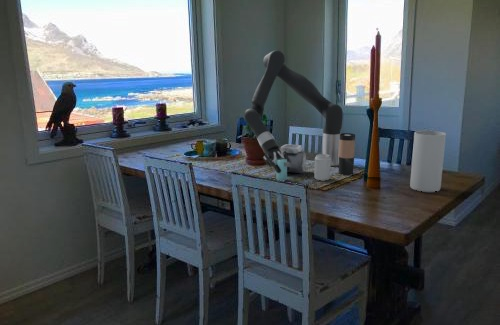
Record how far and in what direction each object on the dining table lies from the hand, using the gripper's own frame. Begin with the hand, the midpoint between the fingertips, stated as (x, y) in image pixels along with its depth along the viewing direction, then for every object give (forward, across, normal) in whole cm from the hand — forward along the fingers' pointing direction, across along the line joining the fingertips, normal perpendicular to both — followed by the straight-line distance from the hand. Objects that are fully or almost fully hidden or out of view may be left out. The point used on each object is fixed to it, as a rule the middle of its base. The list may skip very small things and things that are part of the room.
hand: (284, 171), depth 199 cm
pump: (+3, 0, +4) cm, 5 cm away
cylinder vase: (+39, +39, -32) cm, 63 cm away
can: (+10, +16, -3) cm, 19 cm away
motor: (-4, +14, +10) cm, 18 cm away
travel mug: (+11, +33, -4) cm, 35 cm away
